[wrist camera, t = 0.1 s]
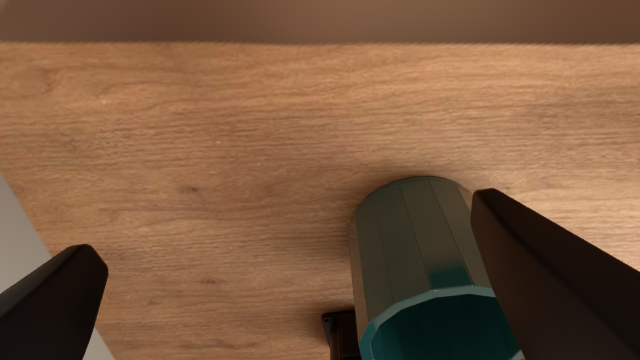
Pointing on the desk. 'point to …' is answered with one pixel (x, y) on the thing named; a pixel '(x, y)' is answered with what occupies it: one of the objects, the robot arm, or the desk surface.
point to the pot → (423, 277)
